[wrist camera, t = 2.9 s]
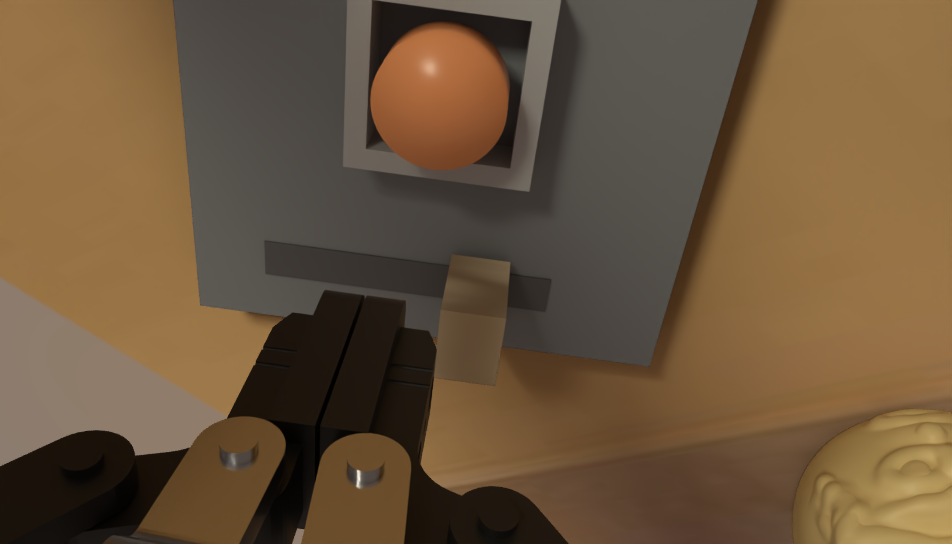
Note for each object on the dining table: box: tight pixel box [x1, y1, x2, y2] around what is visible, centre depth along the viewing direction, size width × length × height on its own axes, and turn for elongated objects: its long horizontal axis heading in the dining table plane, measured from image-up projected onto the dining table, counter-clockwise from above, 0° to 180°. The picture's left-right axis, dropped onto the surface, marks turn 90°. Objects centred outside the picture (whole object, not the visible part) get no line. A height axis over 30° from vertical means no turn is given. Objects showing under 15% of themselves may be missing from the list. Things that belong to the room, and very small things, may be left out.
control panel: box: [173, 0, 758, 367], centre depth 29 cm, size 20×24×4 cm
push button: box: [370, 21, 510, 170], centre depth 26 cm, size 4×4×2 cm
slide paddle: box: [434, 254, 510, 386], centre depth 31 cm, size 2×3×4 cm
